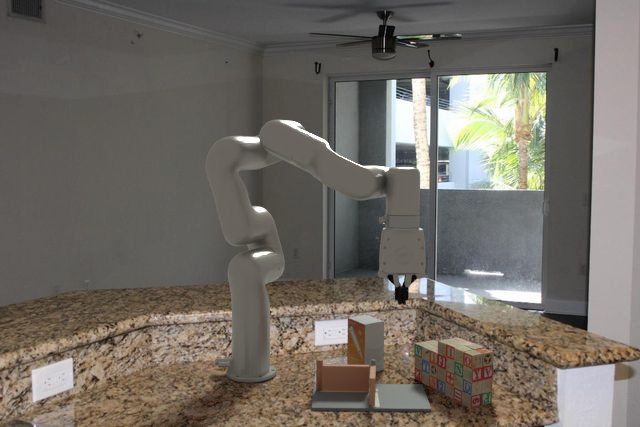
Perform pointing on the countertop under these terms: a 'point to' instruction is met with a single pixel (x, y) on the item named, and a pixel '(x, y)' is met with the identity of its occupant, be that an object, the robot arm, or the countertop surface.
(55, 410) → the countertop surface
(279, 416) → the countertop surface
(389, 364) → the countertop surface
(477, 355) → the stack of blocks
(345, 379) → the fixed fence panel
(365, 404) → the board
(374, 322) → the small box
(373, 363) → the hinged fence panel
